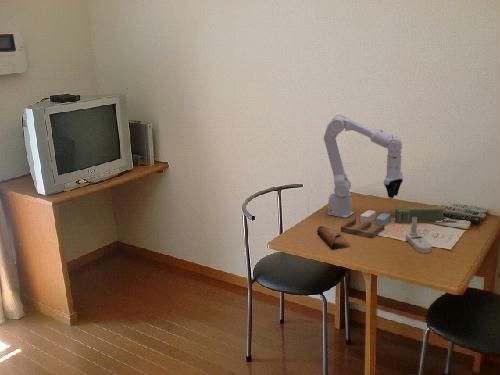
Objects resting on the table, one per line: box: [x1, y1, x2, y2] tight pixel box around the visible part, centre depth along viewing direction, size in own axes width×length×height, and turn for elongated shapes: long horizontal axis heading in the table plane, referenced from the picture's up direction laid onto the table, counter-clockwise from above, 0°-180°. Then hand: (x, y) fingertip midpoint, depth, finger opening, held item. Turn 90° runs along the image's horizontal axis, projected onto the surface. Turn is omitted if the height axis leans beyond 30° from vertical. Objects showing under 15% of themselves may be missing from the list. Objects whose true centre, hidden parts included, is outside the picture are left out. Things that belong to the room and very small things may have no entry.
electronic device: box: [405, 217, 432, 254], centre depth 205 cm, size 5×10×15 cm
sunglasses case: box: [316, 225, 352, 251], centre depth 214 cm, size 18×7×7 cm
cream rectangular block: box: [359, 209, 377, 224], centre depth 234 cm, size 8×4×3 cm, turn 143°
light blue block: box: [375, 212, 392, 227], centre depth 230 cm, size 8×4×3 cm, turn 146°
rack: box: [340, 218, 386, 239], centre depth 223 cm, size 14×11×2 cm
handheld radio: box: [394, 206, 457, 224], centre depth 229 cm, size 7×3×25 cm
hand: (392, 196), depth 234 cm, fingers open, 3 cm apart
